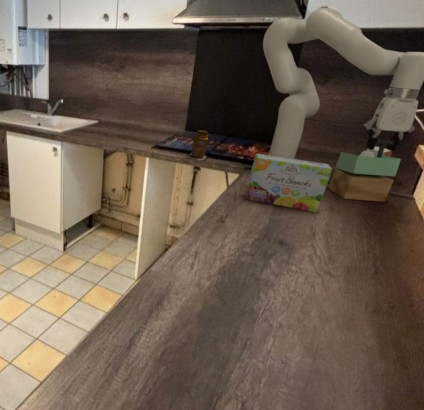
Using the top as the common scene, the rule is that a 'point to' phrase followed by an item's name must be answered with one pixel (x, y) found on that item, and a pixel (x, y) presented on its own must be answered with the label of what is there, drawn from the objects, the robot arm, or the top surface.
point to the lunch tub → (370, 162)
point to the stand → (360, 186)
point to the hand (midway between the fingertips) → (380, 149)
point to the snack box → (288, 182)
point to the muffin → (367, 154)
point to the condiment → (199, 145)
